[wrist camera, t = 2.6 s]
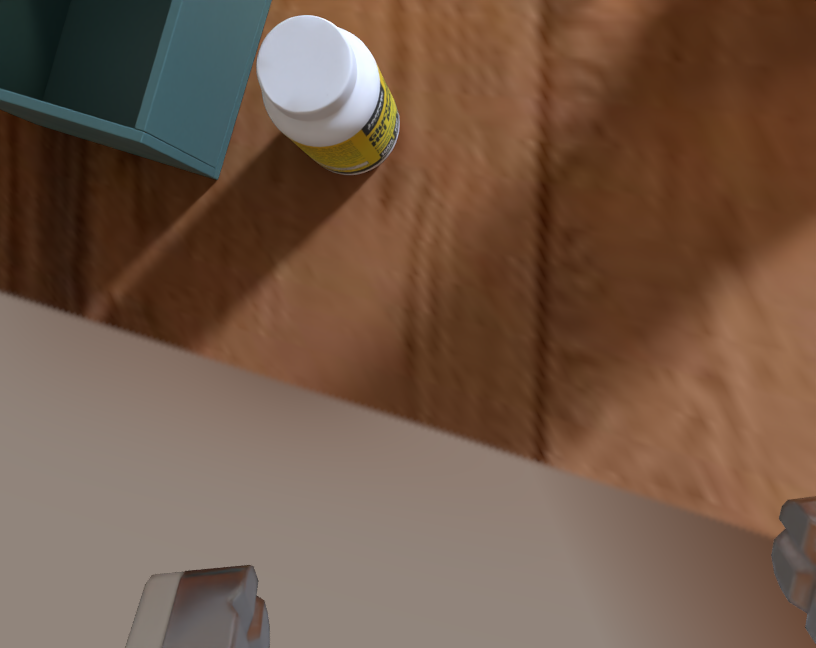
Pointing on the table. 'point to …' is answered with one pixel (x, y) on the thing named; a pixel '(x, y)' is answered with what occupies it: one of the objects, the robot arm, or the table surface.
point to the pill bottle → (327, 94)
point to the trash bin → (133, 72)
